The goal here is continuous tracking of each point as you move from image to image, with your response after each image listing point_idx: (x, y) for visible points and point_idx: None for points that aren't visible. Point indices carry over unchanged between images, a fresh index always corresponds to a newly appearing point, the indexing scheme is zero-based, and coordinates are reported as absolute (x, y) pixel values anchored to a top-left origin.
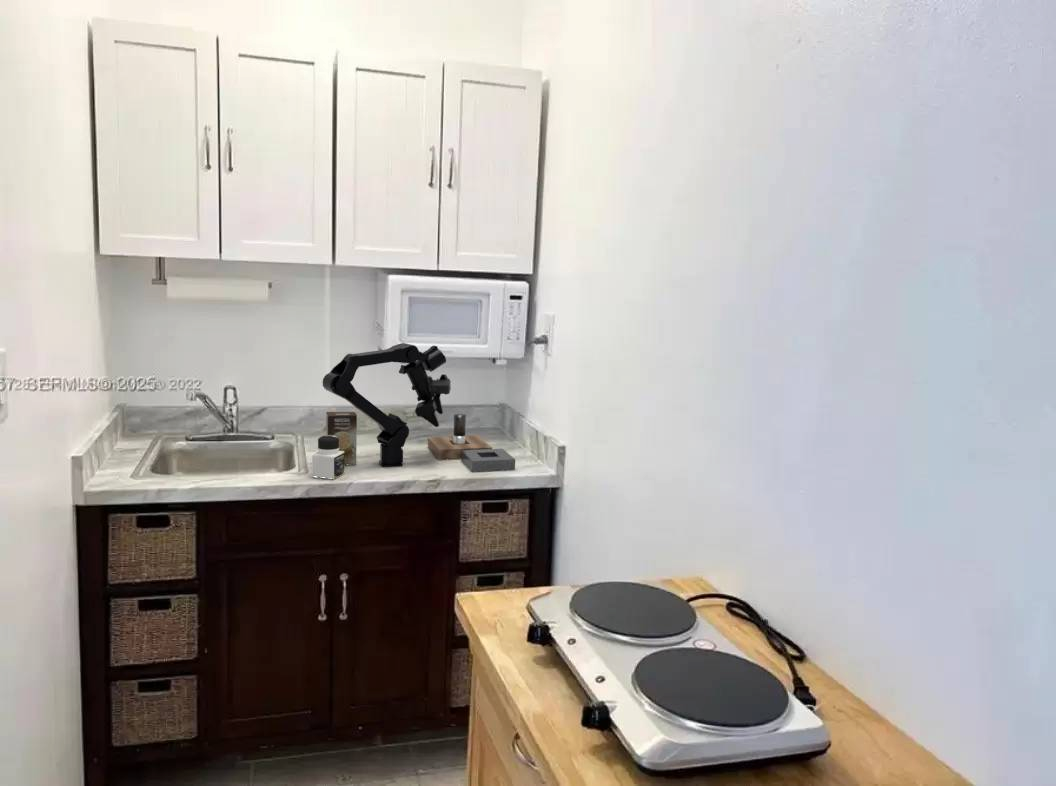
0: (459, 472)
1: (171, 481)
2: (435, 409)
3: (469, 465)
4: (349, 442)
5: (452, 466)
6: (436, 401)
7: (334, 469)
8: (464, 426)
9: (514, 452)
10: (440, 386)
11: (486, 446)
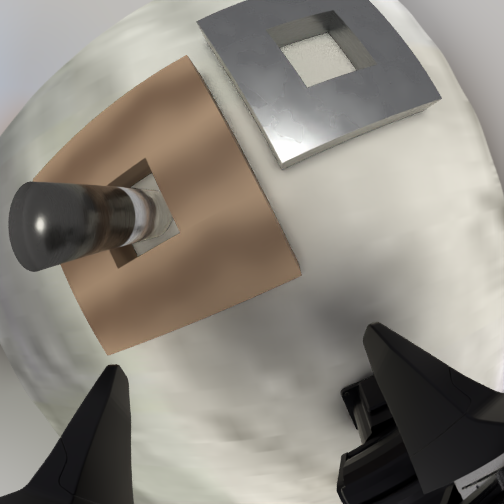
0: (438, 152)
1: None
2: None
3: (402, 116)
4: None
5: (377, 188)
6: (100, 491)
7: None
8: (86, 185)
9: (118, 45)
10: None
11: (174, 78)
